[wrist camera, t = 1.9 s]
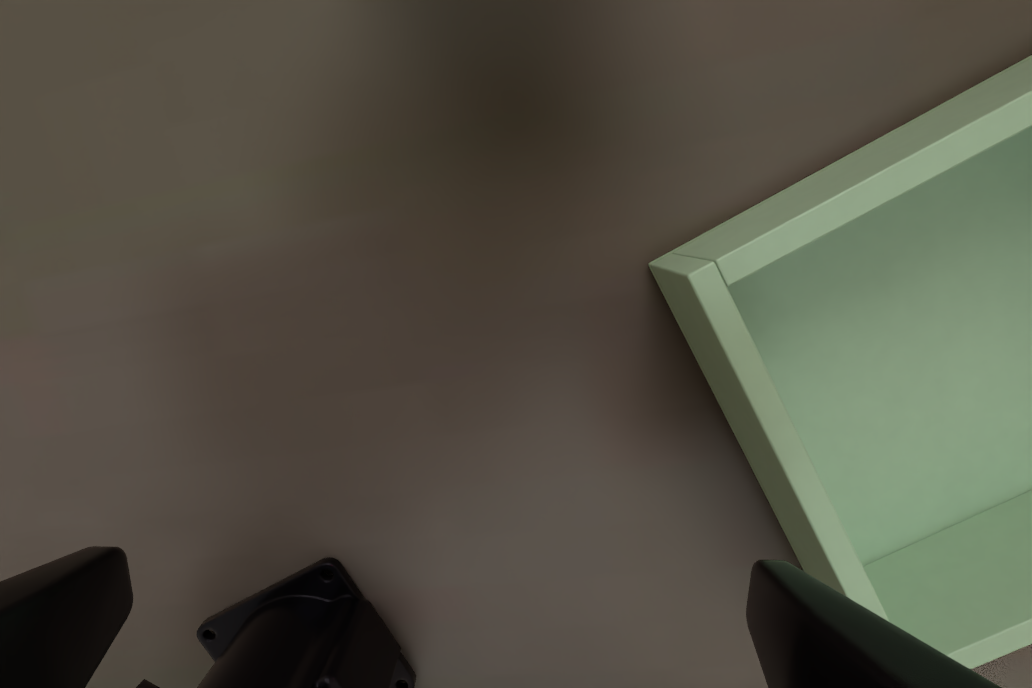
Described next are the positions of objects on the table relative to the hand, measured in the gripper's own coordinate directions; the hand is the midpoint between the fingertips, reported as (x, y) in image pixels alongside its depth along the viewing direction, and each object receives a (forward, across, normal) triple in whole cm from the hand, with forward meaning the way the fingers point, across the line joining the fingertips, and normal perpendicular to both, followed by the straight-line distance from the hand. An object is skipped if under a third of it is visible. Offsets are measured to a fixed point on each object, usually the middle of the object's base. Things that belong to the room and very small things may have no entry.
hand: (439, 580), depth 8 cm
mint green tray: (+12, -15, -1) cm, 20 cm away
